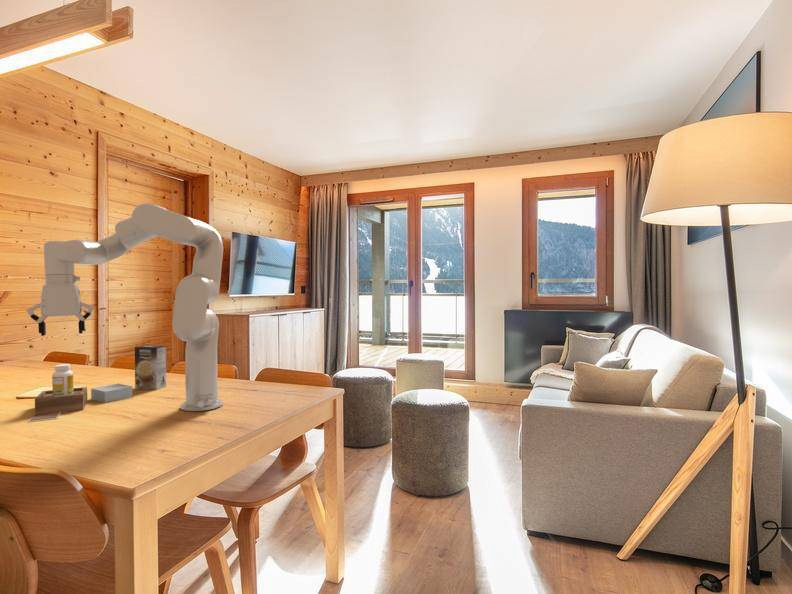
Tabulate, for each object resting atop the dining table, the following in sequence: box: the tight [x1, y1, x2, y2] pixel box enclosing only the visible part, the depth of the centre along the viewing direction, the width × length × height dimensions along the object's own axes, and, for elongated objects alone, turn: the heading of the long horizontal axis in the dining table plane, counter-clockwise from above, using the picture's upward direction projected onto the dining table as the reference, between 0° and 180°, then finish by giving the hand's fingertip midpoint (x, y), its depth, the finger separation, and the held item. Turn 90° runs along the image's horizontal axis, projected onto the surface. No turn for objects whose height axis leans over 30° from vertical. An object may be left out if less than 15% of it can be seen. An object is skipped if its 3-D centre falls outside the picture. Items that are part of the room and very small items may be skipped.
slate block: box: [90, 383, 133, 404], centre depth 157 cm, size 9×9×4 cm
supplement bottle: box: [51, 363, 74, 397], centre depth 144 cm, size 5×5×10 cm
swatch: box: [27, 412, 62, 423], centre depth 134 cm, size 7×7×1 cm
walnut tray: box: [34, 386, 88, 414], centre depth 144 cm, size 12×12×5 cm
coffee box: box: [134, 344, 167, 391], centre depth 172 cm, size 9×6×16 cm
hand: (62, 334), depth 143 cm, fingers open, 9 cm apart
